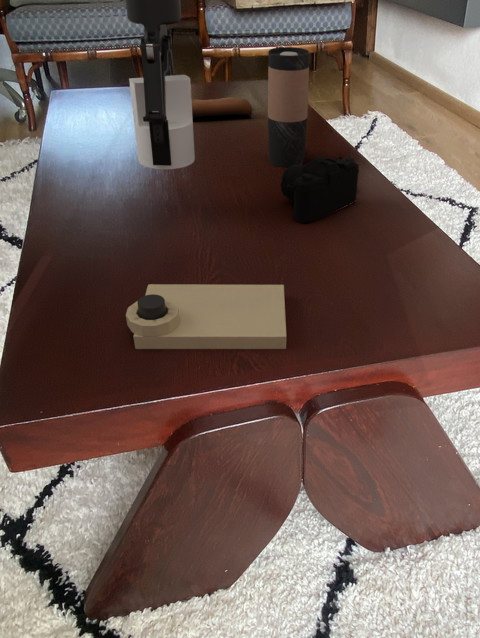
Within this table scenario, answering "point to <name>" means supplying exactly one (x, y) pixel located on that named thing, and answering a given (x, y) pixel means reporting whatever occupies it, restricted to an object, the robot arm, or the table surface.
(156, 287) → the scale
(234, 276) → the table surface
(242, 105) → the sunglasses case
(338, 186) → the film camera
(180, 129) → the base with upright slab
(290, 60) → the travel mug
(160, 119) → the robot arm
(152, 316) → the button
